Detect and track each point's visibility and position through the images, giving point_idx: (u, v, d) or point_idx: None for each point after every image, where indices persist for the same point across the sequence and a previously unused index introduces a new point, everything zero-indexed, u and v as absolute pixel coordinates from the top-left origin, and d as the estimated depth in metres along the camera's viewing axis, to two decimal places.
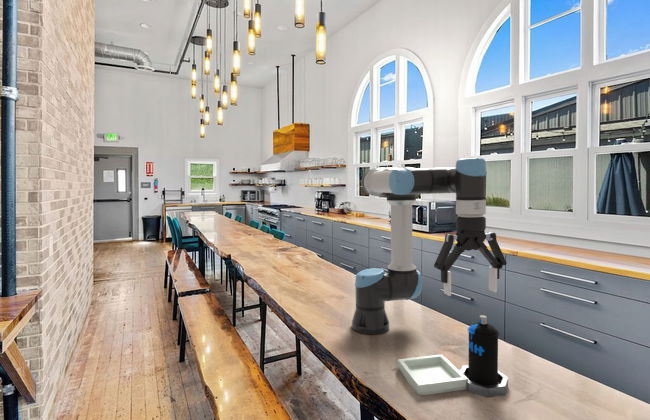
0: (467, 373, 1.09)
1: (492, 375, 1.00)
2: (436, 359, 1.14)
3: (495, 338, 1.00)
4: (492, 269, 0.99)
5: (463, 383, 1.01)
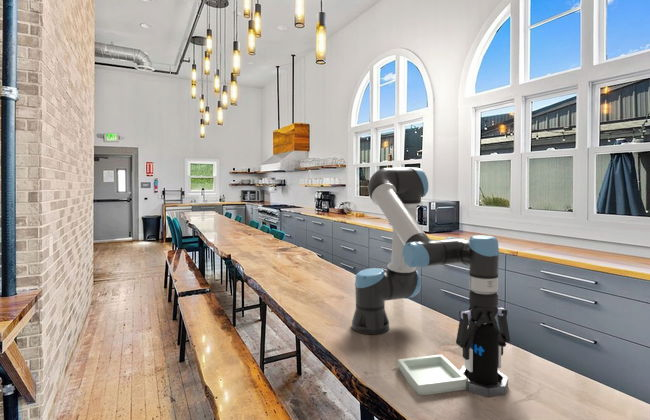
0: (467, 373, 1.09)
1: (492, 374, 1.00)
2: (436, 359, 1.14)
3: (495, 338, 1.00)
4: None
5: (463, 383, 1.01)
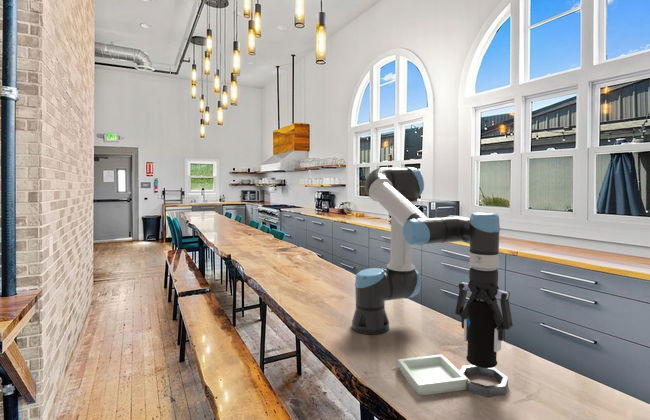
0: (467, 373, 1.09)
1: (476, 349, 1.01)
2: (436, 359, 1.14)
3: (481, 315, 0.99)
4: None
5: (463, 383, 1.01)
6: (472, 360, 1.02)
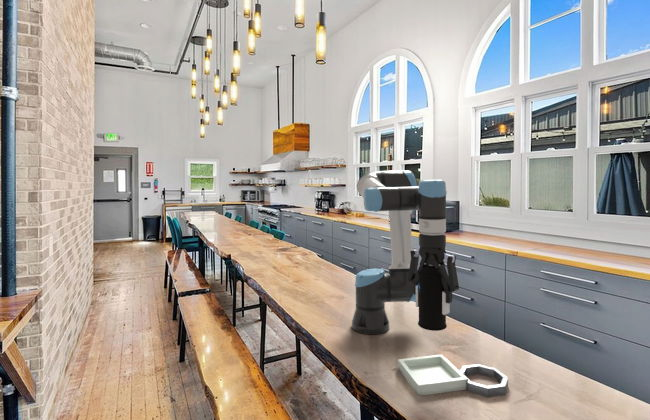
0: (467, 373, 1.09)
1: (425, 313, 1.03)
2: (436, 359, 1.14)
3: (429, 279, 1.02)
4: None
5: (463, 383, 1.01)
6: (422, 324, 1.05)
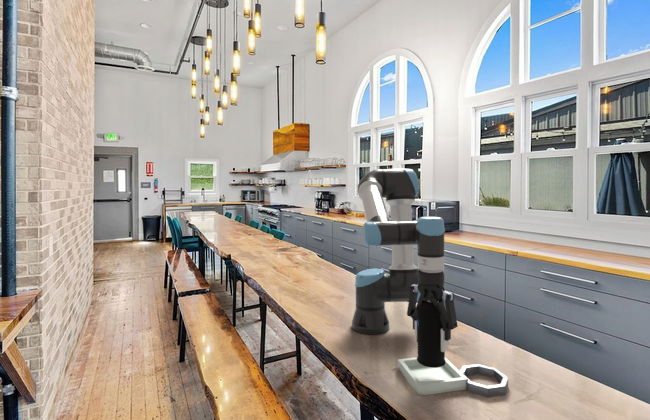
0: (467, 373, 1.09)
1: (424, 349, 1.04)
2: None
3: (427, 316, 1.03)
4: None
5: (463, 383, 1.01)
6: (421, 360, 1.05)
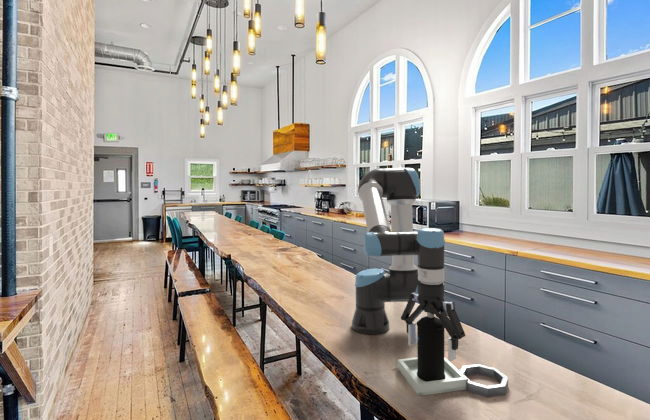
0: (467, 373, 1.09)
1: (424, 365, 1.05)
2: None
3: (427, 331, 1.03)
4: None
5: (463, 383, 1.01)
6: (421, 375, 1.06)
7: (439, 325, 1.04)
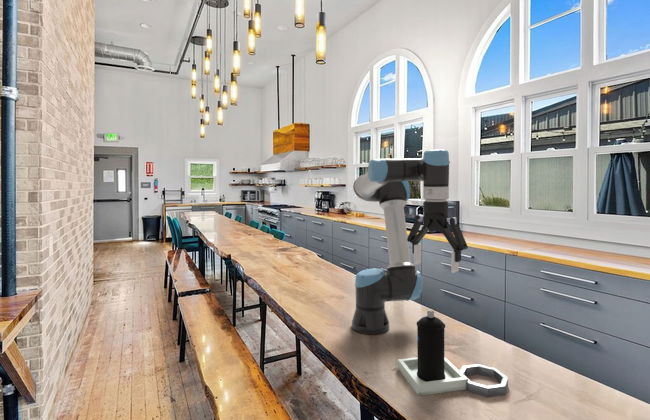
0: (467, 373, 1.09)
1: (424, 365, 1.05)
2: None
3: (427, 331, 1.03)
4: None
5: (463, 383, 1.01)
6: (421, 375, 1.06)
7: (439, 325, 1.04)
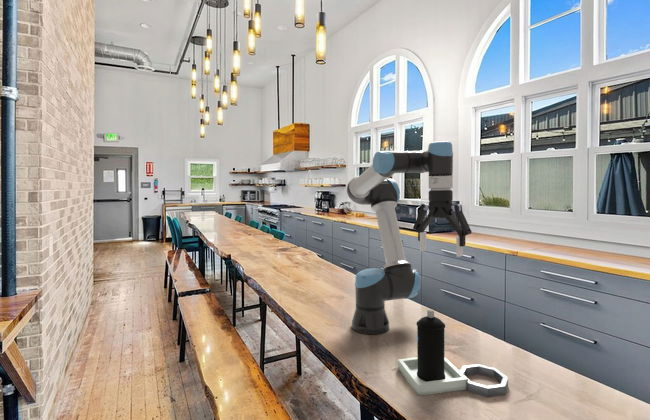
0: (467, 373, 1.09)
1: (424, 365, 1.05)
2: None
3: (427, 331, 1.03)
4: None
5: (463, 383, 1.01)
6: (421, 375, 1.06)
7: (439, 325, 1.03)
